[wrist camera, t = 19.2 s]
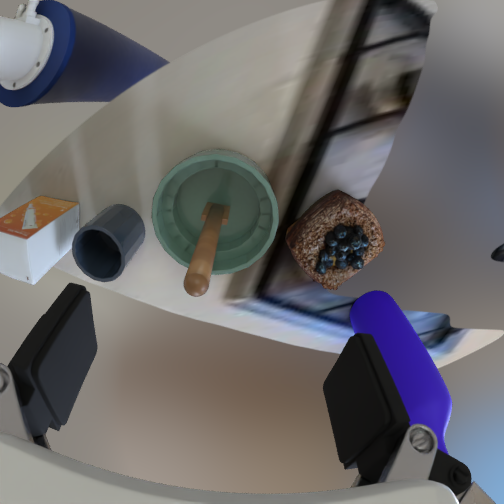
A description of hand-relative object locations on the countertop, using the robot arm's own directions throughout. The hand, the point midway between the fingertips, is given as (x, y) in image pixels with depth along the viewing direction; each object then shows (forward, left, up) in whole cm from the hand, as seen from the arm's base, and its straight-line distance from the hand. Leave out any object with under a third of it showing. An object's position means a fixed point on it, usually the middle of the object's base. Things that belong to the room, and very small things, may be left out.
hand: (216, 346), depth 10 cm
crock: (+10, -15, -29) cm, 34 cm away
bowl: (+4, -2, -29) cm, 29 cm away
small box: (+10, -26, -29) cm, 40 cm away
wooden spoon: (+5, -2, -28) cm, 29 cm away
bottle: (+16, +25, -29) cm, 42 cm away
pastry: (+5, +14, -29) cm, 33 cm away
